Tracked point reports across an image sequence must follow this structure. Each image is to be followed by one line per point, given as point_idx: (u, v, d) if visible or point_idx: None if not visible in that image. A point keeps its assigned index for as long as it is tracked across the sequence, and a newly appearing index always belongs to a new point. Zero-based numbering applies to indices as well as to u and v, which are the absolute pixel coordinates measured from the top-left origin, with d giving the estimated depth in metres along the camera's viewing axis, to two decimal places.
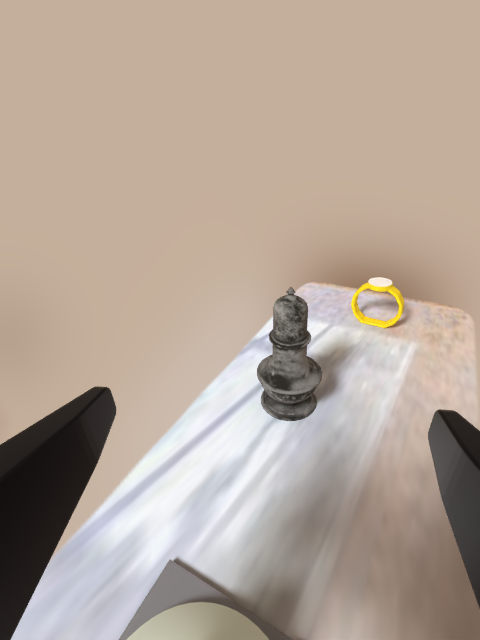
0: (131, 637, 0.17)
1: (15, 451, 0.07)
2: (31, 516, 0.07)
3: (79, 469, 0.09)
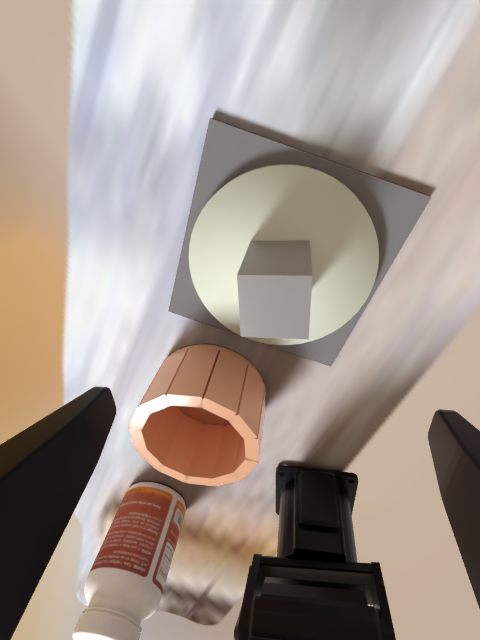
0: (203, 211, 0.17)
1: (15, 451, 0.07)
2: (31, 516, 0.07)
3: (79, 469, 0.09)
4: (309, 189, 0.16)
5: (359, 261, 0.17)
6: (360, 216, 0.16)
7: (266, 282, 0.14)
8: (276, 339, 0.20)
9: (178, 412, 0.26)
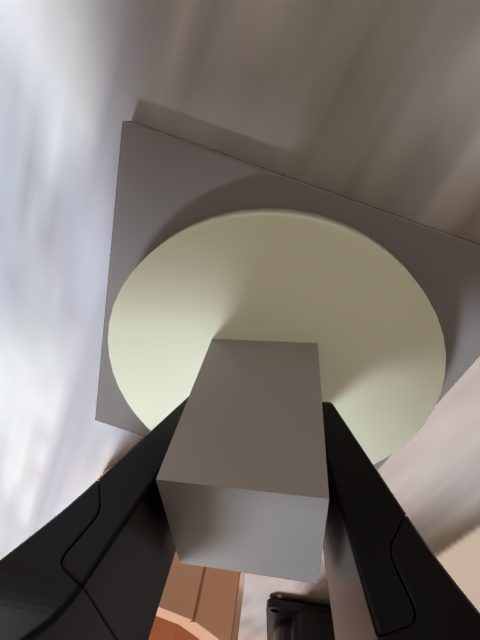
0: (125, 289, 0.09)
1: (142, 465, 0.07)
2: (158, 534, 0.07)
3: None
4: (318, 259, 0.08)
5: (407, 379, 0.10)
6: (415, 309, 0.08)
7: (224, 497, 0.06)
8: None
9: None
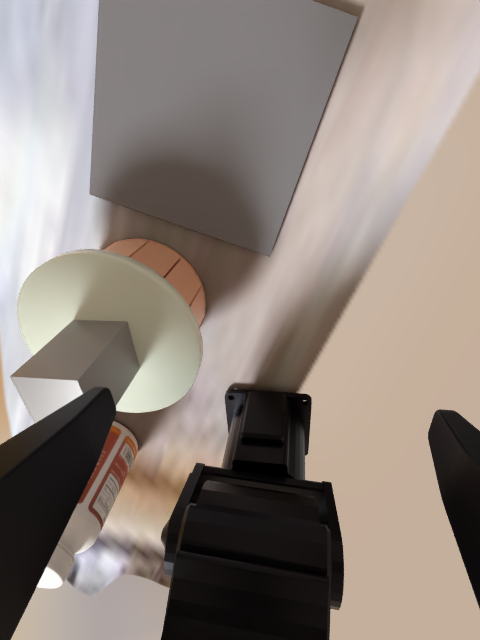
0: (22, 292, 0.17)
1: (15, 451, 0.07)
2: (31, 516, 0.07)
3: (79, 469, 0.09)
4: (112, 276, 0.16)
5: (179, 341, 0.17)
6: (167, 302, 0.16)
7: (39, 384, 0.14)
8: (125, 407, 0.20)
9: None
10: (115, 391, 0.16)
